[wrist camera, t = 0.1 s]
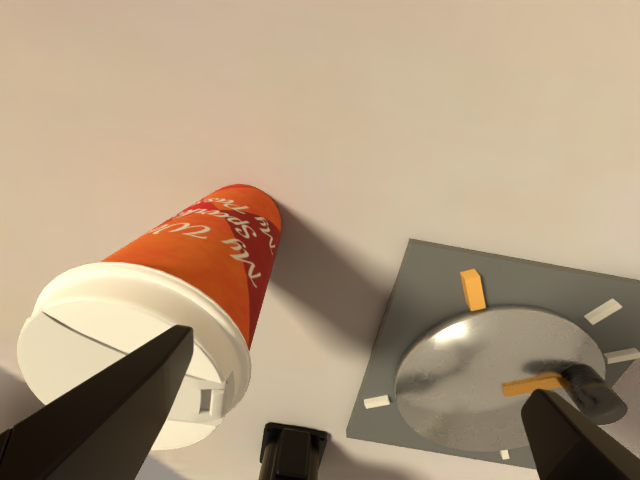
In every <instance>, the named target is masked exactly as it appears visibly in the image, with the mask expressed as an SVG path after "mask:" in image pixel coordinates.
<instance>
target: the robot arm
mask: <svg viewBox="0 0 640 480" xmlns="http://www.w3.org/2000/svg"><path fill="white" fill-rule="evenodd" d="M193 351H194V331H193V328H192V327H190V326H185V325H179V324H178V325H174V326H173V327H171V328H169V329H168V330H166V331H164V332H163V333H161V334H160V335H158V336H156V337H155V338H153V339H152V340H150V341H148V342H147V343H145V344H144V345H142V346H140V347H139V348H137V349H136V350H134V351H132V352H131V353H129V354H127V355H126V356H124V357H123V358H121V359H119V360H118V361H116V362H115V363H113V364H111V365H110V366H108V367H107V368H105V369H103V370H102V371H100V372H98V373H97V374H95V375H94V376H92V377H90V378H89V379H87V380H86V381H84V382H82V383H81V384H79V385H78V386H76V387H74V388H73V389H71V390H70V391H68V392H66V393H65V394H63V395H61V396H60V397H58V398H57V399H55V400H53V401H52V402H50V403H49V404H47V405H45V406H44V407H42V408H41V409H39V410H37V411H36V412H34V413H32V414H31V415H29V416H28V417H26V418H25V419H23V420H21V421H20V422H18V423H16V424H15V425H14V427H13V429H12V428H8V429H6V430H5V431H3V432H2V433H0V480H134V479H135V477H136V475H137V474H138V472H139V470H140V468H141V466H142V464H143V463H144V461H145V459H146V457H147V455H148V453H149V451H150V450H151V448H152V446H153V444H154V442H155V440H156V438H157V437H158V435H159V433H160V431H161V429H162V427H163V425H164V423H165V421H166V419H167V417H168V415H169V412H170V410H171V408H172V405H173V403H174V401H175V398H176V396H177V393H178V391H179V389H180V386H181V384H182V381H183V379H184V376H185V374H186V372H187V369H188V367H189V364H190V362H191V359H192V356H193ZM521 419H522V422H523V425H524V429H525V432H526V435H527V439H528V442H529V445H530V449H531V452H532V455H533V459H534V462H535V465H536V469H537V472H538V475H539V478H540V480H640V459H639V458H637V457H636V456H635V455H634V454H632V453H631V452H630V451H629V450H627V449H626V448H625V447H624V446H622V445H621V444H620V443H619V442H617V441H616V440H615V439H614V438H612V437H611V436H610V435H609V434H607V433H606V432H605V431H604V430H602V429H601V428H600V427H599V426H597V425H596V424H595V423H594V422H592V421H591V420H590V419H589V418H587V417H586V416H585V415H584V414H582V413H581V412H580V411H579V410H577V409H576V408H575V407H574V406H572V405H571V404H570V403H569V402H567V401H566V400H565V399H564V398H562V397H561V396H560V395H559V394H557V393H556V392H554V391H551V390H546V389H540V388H538V389H535V390H534V391H533V392H532V393H531V395H530V396H529V398H528V399H527V401H526V402H525V404H524V405H523V406H522V409H521ZM326 442H327V434H326V433H324V432H318V431H313V430H307V429H301V428H295V427H289V426H283V425H277V424H271V423H268V424H266V425H265V428H264V434H263V441H262V448H261V454H260V463H262V465H261V470H260V475H259V480H317V479H318V469H319V466H320V462H321V459H322V456H323V452H324V449H325V446H326Z"/></svg>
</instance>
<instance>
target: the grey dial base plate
mask: <svg viewBox="0 0 640 480" xmlns="http://www.w3.org/2000/svg"><path fill="white" fill-rule="evenodd" d="M498 304H524V305H532V306H537V307H542V308H546V309H549V310H552V311H554V312H557V313H560V314H562V315H563V316H565V317H567V318H569V319H571V320H572V321H573V322H575V323H576V324H577V325H578V326H580V327H581V328H582V329H583V330H584V331H585V332H586V333H587V334H588V335H589V336H590V337H591V338H592V340H593V341H594V342H595V343H596V344H597V346H598V347H599V349H600V351H601V353H602V355H603V359H604V362H605V371H606V372H605V380H604V381H605V382H606V383H607V384H608V385H609V386H610V387H612V386H613V385H614V383H615V382H616V381H617V380H618V379H619V378H620V376H621V375H622V374H623V373H624V372H625V370H626V369H627V368H628V367H629V366H630V365H631V363H632V362H633V361H634V360H635V359H637V358H640V281H639V280H634V279H628V278H623V277H618V276H612V275H607V274H601V273H596V272H590V271H585V270H579V269H574V268H568V267H563V266H557V265H552V264H546V263H541V262H535V261H530V260H524V259H519V258H513V257H508V256H503V255H497V254H492V253H486V252H481V251H475V250H470V249H464V248H459V247H453V246H448V245H442V244H437V243H431V242H426V241H420V240H415V239H410V240H409V243H408V246H407V249H406V252H405V255H404V258H403V261H402V264H401V267H400V270H399V273H398V276H397V279H396V282H395V285H394V288H393V291H392V294H391V297H390V300H389V303H388V306H387V309H386V312H385V315H384V318H383V321H382V324H381V327H380V330H379V333H378V336H377V339H376V342H375V345H374V348H373V351H372V354H371V357H370V360H369V363H368V366H367V369H366V372H365V375H364V378H363V381H362V384H361V387H360V390H359V393H358V396H357V399H356V402H355V405H354V408H353V411H352V414H351V417H350V420H349V423H348V426H347V429H346V434H347V438H353V439H359V440H365V441H371V442H377V443H383V444H389V445H395V446H401V447H406V448H412V449H418V450H424V451H430V452H436V453H442V454H448V455H454V456H460V457H466V458H471V459H477V460H483V461H489V462H495V463H501V464H507V465H513V466H519V467H525V468H531V469H536V465H535V462H534V459H533V455H532V452H531V449H530V445H527V446H523V447H520V448H514V449H509V450H501V451H485V452H481V451H467V450H459V449H454V448H450V447H446V446H443V445H440V444H437V443H435V442H433V441H430V440H428V439H427V438H425V437H423V436H421V435H420V434H419V433H417V432H416V431H414V430H413V429H412V428H411V427H410V426H409V425H408V424H407V423H406V421H405V420H404V418H403V417H402V415H401V413H400V411H399V409H398V406H397V402H396V398H395V392H394V374H395V370H396V367H397V364H398V362H399V360H400V358H401V356H402V355H403V353H404V352H405V350H406V349H407V347H408V346H409V345H410V344H411V343H412V342H413V341H414V340H415V339H416V338H417V337H418V336H419V335H420V334H422V333H423V332H424V331H425V330H427V329H428V328H430V327H431V326H433V325H434V324H436V323H438V322H440V321H442V320H444V319H446V318H447V317H450V316H452V315H455V314H457V313H460V312H463V311H466V310H471V311H475V310H479V309H484V308H486V306H488V305H498Z"/></svg>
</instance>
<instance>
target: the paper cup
mask: <svg viewBox="0 0 640 480" xmlns="http://www.w3.org/2000/svg"><path fill="white" fill-rule="evenodd" d="M281 227H282V224H281V216H280V213H279V210H278V208H277V206H276V204H275V203H274V202H273V200H272V199H271V198H270V197H269V196H268V195H267V194H265V193H264V192H263V191H261V190H259V189H257V188H255V187H252V186H249V185H243V184H235V185H229V186H226V187H223V188H221V189H219V190H217V191H215V192H213V193H212V194H210V195H208V196H206V197H205V198H203V199H201V200H200V201H198V202H196V203H195V204H193V205H191V206H190V207H188V208H187V209H185V210H183V211H182V212H180V213H178V214H177V215H175V216H174V217H172V218H170V219H169V220H167V221H165V222H164V223H162V224H161V225H159V226H157V227H156V228H154V229H152V230H151V231H149V232H148V233H146V234H144V235H143V236H141V237H140V238H138V239H136V240H135V241H133V242H132V243H130V244H128V245H127V246H125V247H123V248H122V249H120V250H119V251H117V252H115V253H114V254H112V255H111V256H109V257H107V258H106V259H104V260H102V261H101V262H99V263H92V264H85V265H82V266H79V267H76V268H73V269H70V270H68V271H66V272H65V273H63V274H61V275H59V276H57V277H56V278H55V279H54V280H53V281H51V282H50V283H49V284H48V285H47V286H46V287H45V288H44V290H43V291H42V293H41V294H40V296H39V298H38V300H37V302H36V305H35V308H34V311H33V313H32V316H31V317H29V318H28V319H27V320H26V322H25V324H24V326H23V328H22V330H21V332H20V337H19V339H18V342H17V357H18V362H19V366H20V369H21V371H22V374H23V376H24V379H25V380H26V382H27V384H28V386H29V387H30V389H31V390H32V391H33V393H34V394H35V395H36V396H37V397H38V399H39V400H40V401H42V402H43V403H44V404H45V405H47V404H49V403H50V402H52V401H53V400H55V399H57V398H58V397H60V396H61V395H63V394H65V393H66V392H68V391H70V390H71V389H73V388H74V387H76V386H78V385H79V384H81V383H82V382H84V381H86V380H87V379H89V378H90V377H92V376H94V375H95V374H97V373H98V372H100V371H102V370H103V369H105V368H107V367H108V366H110V365H111V364H113V363H115V362H116V361H118V360H119V359H121V358H123V357H124V356H126V355H127V354H129V353H131V352H132V351H134V350H136V349H137V348H139V347H140V346H142V345H144V344H145V343H147V342H148V341H150V340H152V339H153V338H155V337H156V336H158V335H160V334H161V333H163V332H164V331H166V330H168V329H169V328H171V327H173V326H174V325H178V324H179V325H185V326H190V327H192V328H193V331H194V351H193V356H192V359H191V362H190V364H189V367H188V369H187V372H186V374H185V376H184V379H183V381H182V384H181V386H180V389H179V391H178V393H177V396H176V398H175V401H174V403H173V405H172V408H171V410H170V412H169V415H168V417H167V419H166V421H165V423H164V425H163V427H162V429H161V431H160V433H159V435H158V437H157V438H156V440H155V442H154V444H153V446H152V448H151V450H169V449H175V448H181V447H184V446H188V445H191V444H193V443H196V442H198V441H200V440H202V439H203V438H205V437H206V436H207V435H209V434H210V433H211V432H213V431H214V430H215V429H216V427H217V426H218V425H219V424H220V423H221V422H222V420H223V418H224V417H225V415H226V414H227V413H228V412H229V411H231V410H232V409H233V408H234V407H235V406H236V405H237V404H238V402H239V401H240V400H241V399H242V397H243V396H244V394H245V392H246V390H247V388H248V385H249V381H250V378H251V359H250V352H249V351H250V347H251V343H252V340H253V336H254V332H255V329H256V325H257V321H258V318H259V314H260V310H261V307H262V303H263V300H264V296H265V292H266V289H267V285H268V281H269V278H270V274H271V270H272V266H273V263H274V259H275V255H276V251H277V247H278V243H279V239H280V234H281Z"/></svg>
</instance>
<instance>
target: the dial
mask: <svg viewBox="0 0 640 480" xmlns="http://www.w3.org/2000/svg"><path fill="white" fill-rule="evenodd" d="M605 372H606V371H605V362H604V359H603V355H602V353H601V351H600V349H599V347H598V346H597V344H596V343H595V342H594V341H593V340H592V338H591V337H590V336H589V335H588V334H587V333H586V332H585V331H584V330H583V329H582V328H581V327H580V326H578V325H577V324H576V323H575V322H573V321H572V320H571V319H569V318H567V317H565V316H563V315H562V314H560V313H557V312H554V311H552V310H549V309H546V308H542V307H537V306H532V305H524V304H498V305H488V306H486V308H484V309H479V310H475V311H471V310H466V311H463V312H460V313H457V314H455V315H452V316H450V317H447V318H446V319H444V320H442V321H440V322H438V323H436V324H434V325H433V326H431V327H430V328H428V329H427V330H425V331H424V332H423V333H422V334H420V335H419V336H418V337H417V338H416V339H415V340H414V341H413V342H412V343H411V344H410V345H409V346H408V347H407V349H406V350H405V352H404V353H403V355H402V356H401V358H400V360H399V362H398V364H397V367H396V370H395V374H394V392H395V398H396V402H397V406H398V409H399V411H400V413H401V415H402V417H403V418H404V420H405V421H406V423H407V424H408V425H409V426H410V427H411V428H412V429H413V430H414V431H416V432H417V433H419V434H420V435H421V436H423V437H425V438H427V439H428V440H430V441H433V442H435V443H437V444H440V445H443V446H446V447H450V448H454V449H459V450H467V451H481V452H485V451H501V450H509V449H514V448H520V447H523V446H527V445H529V442H528V439H527V435H526V432H525V429H524V425H523V422H522V419H521V409H522V406H523V405H524V404H525V402H526V401H527V399H528V398H529V396H530V395H531V393H532V392H533V391H534V390H535V389H538V388H540V389H546V390H551V391H554V392H556V393H557V394H559V395H560V396H561V397H562V398H564V399H565V400H566V401H567V402H569V403H570V404H571V405H572V406H574V407H575V408H576V409H577V410H579V411H580V412H581V413H582V414H584V415H585V416H586V417H587V418H589V419H590V420H591V421H592V422H594V423H595V424H596V425H605V424H610V423H613V422H616V421H618V420H620V419H621V418H622V417H623V416H624V415H625V414H626V413H627V405H626V404H625V403H624V402H623V401H622V400H621V399H620V397H619V396H618V395H617V394H616V393H615V392H614V391H613V390H612V389H611V387H610V386H609V385H608V384H607V383H606V382H605V381H604V380H605Z"/></svg>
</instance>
